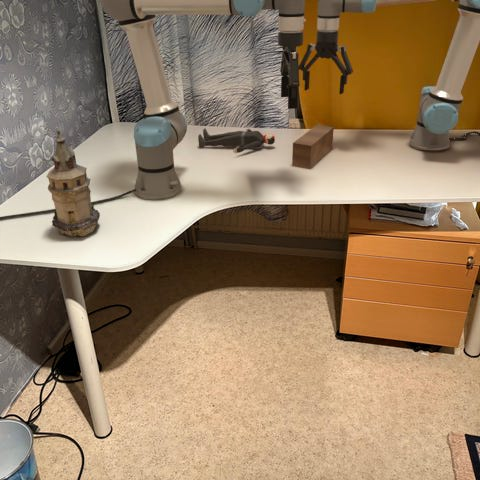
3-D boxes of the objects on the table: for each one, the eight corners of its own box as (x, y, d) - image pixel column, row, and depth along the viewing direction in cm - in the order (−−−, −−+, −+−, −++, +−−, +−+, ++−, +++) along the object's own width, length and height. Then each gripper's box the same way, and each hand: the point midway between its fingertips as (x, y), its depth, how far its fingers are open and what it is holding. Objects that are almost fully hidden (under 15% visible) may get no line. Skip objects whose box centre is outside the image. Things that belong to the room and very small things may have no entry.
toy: (208, 122, 226) (279, 122, 220) (210, 136, 230) (279, 136, 223) (191, 142, 204) (269, 142, 198) (193, 157, 207) (270, 158, 201)
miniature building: (80, 214, 164) (63, 117, 149) (111, 225, 157) (96, 125, 142) (44, 231, 154) (22, 130, 140) (75, 244, 147) (55, 139, 133)
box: (310, 169, 193) (311, 145, 189) (292, 165, 196) (292, 142, 192) (332, 148, 211) (333, 127, 207) (315, 146, 214) (316, 124, 210)
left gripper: (312, 37, 149) (308, 113, 159) (295, 25, 170) (293, 92, 181) (285, 38, 148) (283, 114, 158) (272, 25, 170) (271, 93, 180)
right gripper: (365, 31, 186) (359, 92, 196) (298, 27, 196) (296, 85, 207) (359, 34, 180) (353, 97, 191) (290, 30, 190) (288, 90, 201)
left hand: (288, 102), depth 170 cm, fingers open, 13 cm apart
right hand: (323, 91), depth 199 cm, fingers open, 13 cm apart
